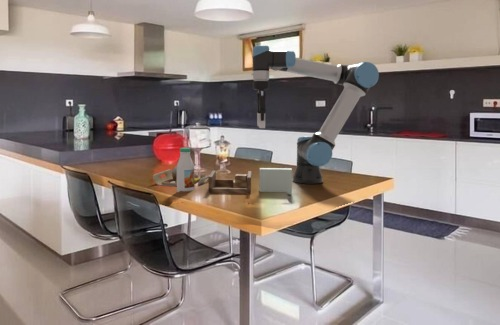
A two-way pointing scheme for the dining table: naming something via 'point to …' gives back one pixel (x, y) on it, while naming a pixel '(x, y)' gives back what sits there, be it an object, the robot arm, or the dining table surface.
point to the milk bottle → (185, 171)
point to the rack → (227, 185)
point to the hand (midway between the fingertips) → (261, 127)
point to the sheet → (276, 180)
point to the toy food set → (175, 178)
